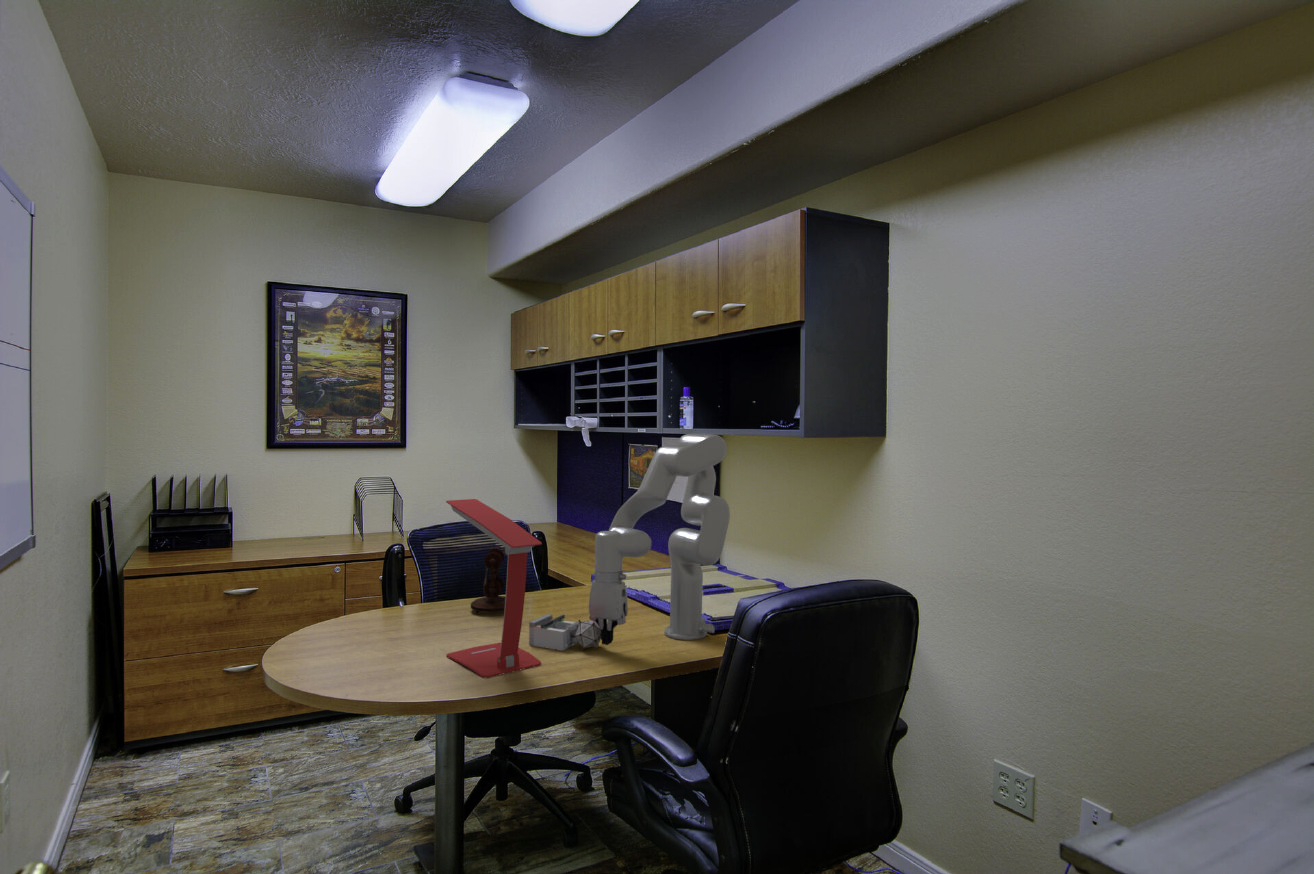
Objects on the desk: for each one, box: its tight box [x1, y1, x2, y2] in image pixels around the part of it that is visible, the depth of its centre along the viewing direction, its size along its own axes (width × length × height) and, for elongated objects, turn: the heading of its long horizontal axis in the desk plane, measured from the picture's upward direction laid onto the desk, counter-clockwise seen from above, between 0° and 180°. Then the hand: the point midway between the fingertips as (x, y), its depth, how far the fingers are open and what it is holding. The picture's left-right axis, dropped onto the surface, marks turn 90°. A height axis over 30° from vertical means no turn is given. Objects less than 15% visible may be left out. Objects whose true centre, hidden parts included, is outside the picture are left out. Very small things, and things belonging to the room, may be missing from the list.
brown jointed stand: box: [470, 547, 506, 615], centre depth 233 cm, size 15×15×20 cm
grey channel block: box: [541, 614, 580, 645], centre depth 199 cm, size 8×12×5 cm
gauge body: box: [528, 613, 579, 651], centre depth 200 cm, size 11×10×6 cm
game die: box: [572, 619, 602, 652], centre depth 196 cm, size 9×8×10 cm
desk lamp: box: [445, 498, 543, 678], centre depth 187 cm, size 18×38×40 cm, turn 40°
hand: (606, 643), depth 194 cm, fingers closed
